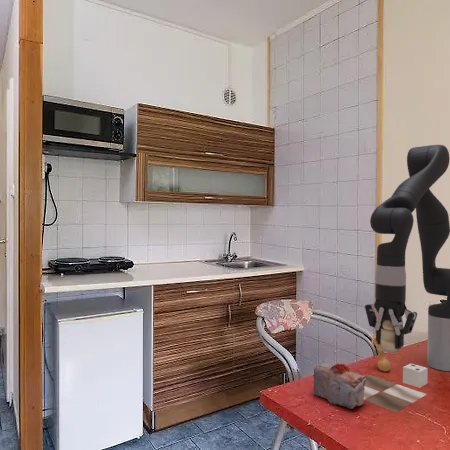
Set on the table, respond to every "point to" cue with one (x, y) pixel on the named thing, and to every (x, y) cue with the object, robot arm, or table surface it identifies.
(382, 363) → the figurine
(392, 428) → the table surface
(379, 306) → the robot arm
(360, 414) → the table surface
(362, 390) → the food item
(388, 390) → the game mat
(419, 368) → the die
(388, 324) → the pawn
